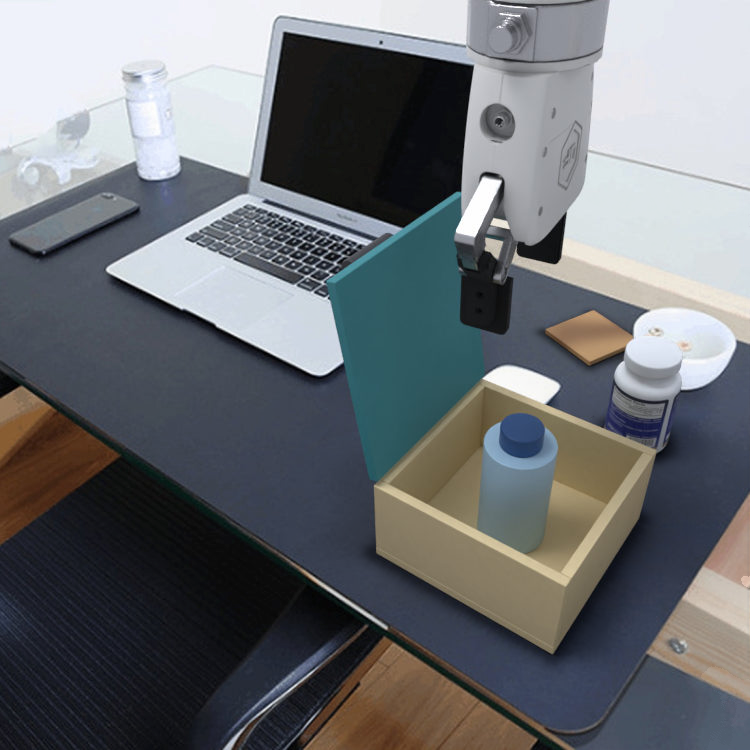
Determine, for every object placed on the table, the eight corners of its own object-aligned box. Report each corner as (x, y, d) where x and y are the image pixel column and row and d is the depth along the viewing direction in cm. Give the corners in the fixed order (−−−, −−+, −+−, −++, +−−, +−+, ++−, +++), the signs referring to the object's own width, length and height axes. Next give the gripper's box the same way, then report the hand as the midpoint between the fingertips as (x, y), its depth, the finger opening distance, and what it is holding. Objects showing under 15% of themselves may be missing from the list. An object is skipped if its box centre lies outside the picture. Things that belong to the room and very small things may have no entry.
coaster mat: (638, 344, 85) (639, 340, 85) (589, 366, 82) (590, 361, 82) (592, 314, 90) (593, 309, 89) (544, 333, 87) (545, 328, 87)
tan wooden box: (638, 518, 66) (657, 450, 61) (552, 655, 56) (566, 586, 51) (476, 444, 73) (481, 378, 69) (375, 553, 64) (373, 485, 59)
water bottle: (558, 537, 64) (576, 434, 57) (504, 566, 61) (516, 463, 55) (515, 495, 67) (528, 394, 60) (463, 521, 65) (470, 419, 58)
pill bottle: (631, 409, 77) (651, 324, 71) (680, 441, 73) (705, 355, 67) (589, 432, 74) (605, 346, 68) (637, 467, 71) (659, 380, 64)
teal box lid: (465, 192, 60) (417, 187, 62) (334, 282, 50) (284, 273, 52) (485, 374, 68) (443, 364, 71) (377, 482, 58) (332, 466, 61)
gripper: (546, 80, 36) (517, 376, 47) (645, -5, 48) (604, 247, 58) (401, 61, 39) (404, 342, 50) (527, -15, 51) (509, 226, 62)
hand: (512, 291), depth 54 cm, fingers open, 9 cm apart
